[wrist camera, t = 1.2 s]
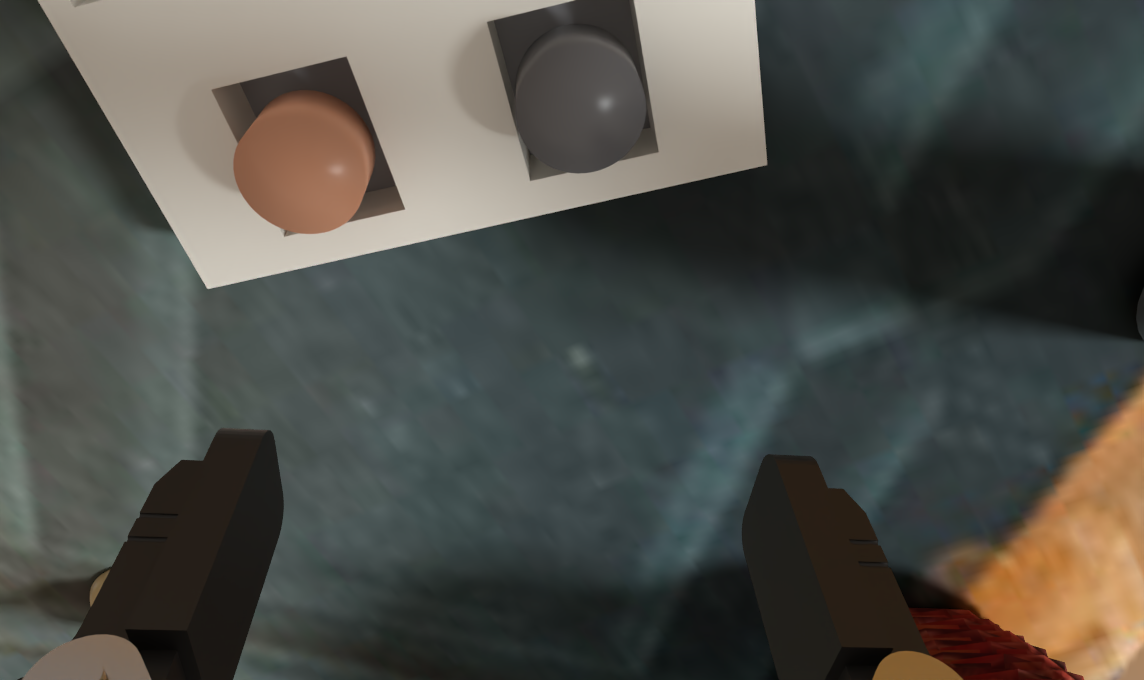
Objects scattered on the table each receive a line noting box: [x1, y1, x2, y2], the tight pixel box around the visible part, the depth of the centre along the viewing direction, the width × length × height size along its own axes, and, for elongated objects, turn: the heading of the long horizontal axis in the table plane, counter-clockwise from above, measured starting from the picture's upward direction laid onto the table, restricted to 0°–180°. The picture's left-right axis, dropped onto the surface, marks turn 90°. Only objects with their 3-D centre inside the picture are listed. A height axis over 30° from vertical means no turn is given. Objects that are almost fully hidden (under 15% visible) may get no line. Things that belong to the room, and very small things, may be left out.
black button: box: [515, 24, 646, 174], centre depth 28 cm, size 4×4×3 cm
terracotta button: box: [233, 90, 375, 234], centre depth 29 cm, size 4×4×3 cm
